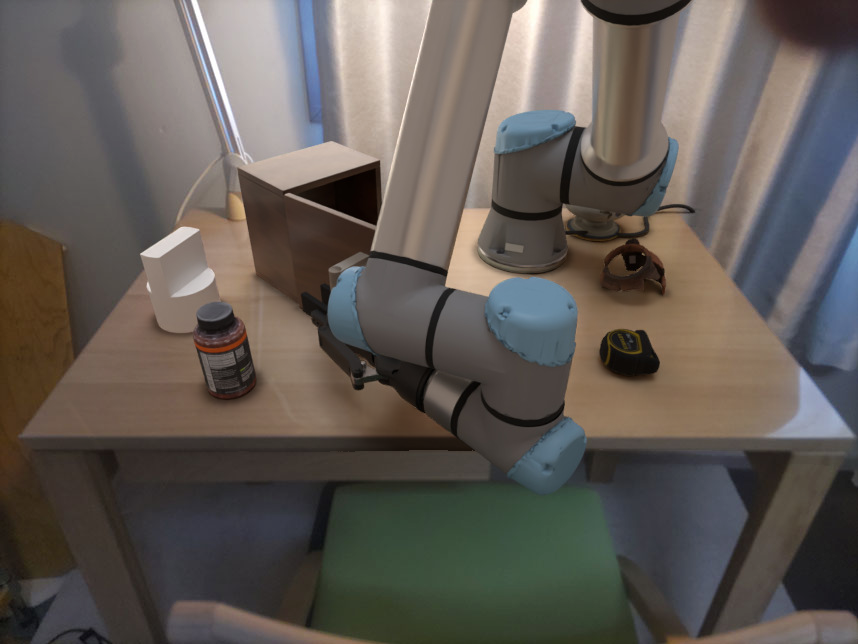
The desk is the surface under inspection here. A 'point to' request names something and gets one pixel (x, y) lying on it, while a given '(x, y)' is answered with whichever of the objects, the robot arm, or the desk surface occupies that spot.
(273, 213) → the cabinet
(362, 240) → the cabinet door
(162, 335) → the desk surface
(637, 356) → the tape measure
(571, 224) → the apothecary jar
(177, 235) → the base with upright slab
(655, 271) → the brown hollow curved shell
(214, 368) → the supplement bottle
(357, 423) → the desk surface
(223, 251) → the desk surface
